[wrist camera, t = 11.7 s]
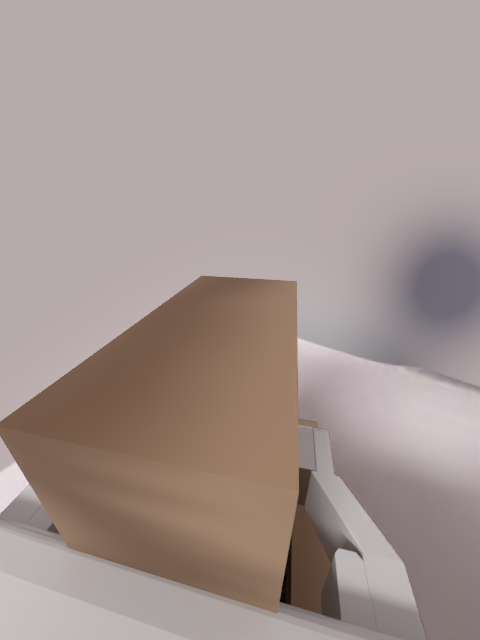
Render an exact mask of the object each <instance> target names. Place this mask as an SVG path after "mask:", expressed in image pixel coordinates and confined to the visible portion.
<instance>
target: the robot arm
mask: <svg viewBox="0 0 480 640" xmlns="http://www.w3.org/2000/svg"><path fill="white" fill-rule="evenodd" d="M298 452H299V495H298V501H297V504H299V505H303V506H305V507H304V508H305V510H306V512H307V514H308V516H309V518H310V520H311V522H312V525H313V527H314V529H315V531H316V533H317V535H318V537H319V539H320V541H321V544H322V546H323V548H324V550H325V552H326V554H327V556H328V558H329V561H330V563H331V566H330V569H329V572H328V574H327V577H326V580H325V583H324V586H323V589H322V592H321V609H322V614H318V613H315V612H312V611H309V610H305V609H302V608H299V607H295V606H292V605H289V604H286V603H282V602H279V607H278V612H277V613H274V612H271V611H267V610H264V609H261V608H258V607H255V606H252V605H248V604H245V603H242V602H239V601H236V600H232V599H229V598H226V597H223V596H220V595H216V594H213V593H210V592H207V591H204V590H201V589H197V588H194V587H191V586H188V585H185V584H181V583H178V582H175V581H172V580H169V579H166V578H162V577H159V576H156V575H153V574H150V573H146V572H143V571H140V570H137V569H134V568H130V567H127V566H124V565H121V564H118V563H115V562H111V561H108V560H105V559H102V558H99V557H95V556H92V555H89V554H86V553H83V552H80V551H76V550H73V549H70V548H68V546H67V545H66V543H65V541H64V540H63V538H62V537H61V535H60V533H59V532H58V530H57V528H56V527H55V525H54V523H53V522H52V520H51V518H50V517H49V515H48V513H47V512H46V510H45V509H44V507H43V505H42V504H41V502H40V500H39V499H38V497H37V495H36V494H35V492H34V490H33V489H32V487H31V485H30V484H29V485H28V486H27V487H26V488H25V489H24V490H23V491H22V492H21V493H20V494H19V495H18V496H17V497H16V498H15V499H14V500H13V501H12V503H11V504H10V505H9V506H8V507H7V508H6V509H5V510H4V511H3V512H2V513H1V514H0V640H427V638H426V635H425V631H424V628H423V625H422V621H421V618H420V615H419V611H418V608H417V605H416V602H415V598H414V595H413V592H412V588H411V585H410V582H409V579H408V575H407V572H406V569H405V565H404V563H403V561H402V560H401V559H400V557H399V556H398V555H397V553H396V552H395V551H394V549H393V548H392V546H391V545H390V544H389V542H388V541H387V540H386V538H385V537H384V536H383V534H382V533H381V532H380V530H379V529H378V528H377V526H376V525H375V523H374V522H373V521H372V519H371V518H370V517H369V515H368V514H367V513H366V511H365V510H364V509H363V507H362V506H361V505H360V503H359V502H358V500H357V499H356V498H355V496H354V495H353V494H352V492H351V491H350V490H349V488H348V487H347V486H346V484H345V483H344V481H343V480H342V479H341V477H340V476H336V475H335V472H334V466H333V459H332V452H331V446H330V439H329V432H328V431H327V430H325V429H319V428H312V427H307V426H300V425H298Z"/></svg>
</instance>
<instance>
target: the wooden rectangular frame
mask: <svg viewBox="0 0 480 640" xmlns="http://www.w3.org/2000/svg"><path fill="white" fill-rule="evenodd" d="M298 425H300V426H307V427H312V428H317V422H315V421H309V420H303V419H298ZM304 507H305V506H303V505H299V504H297V506H296V512H295V517H294V523H293V529H292V534H291V540H290V545H289V551H288V557H287V563H286V599H285V603H286V604H289V605H292V606H295V607H299V608H302V609H305V610H309V611H312V612H315V613H318V614H322V609H321V592H322V589H323V586H324V583H325V580H326V577H327V574H328V572H329V569H330V566H331V563H330V561H329V558H328V556H327V554H326V552H325V550H324V548H323V546H322V544H321V541H320V539H319V537H318V535H317V533H316V531H315V529H314V527H313V525H312V522H311V520H310V518H309V516H308V514H307V512H306V510H305V508H304Z"/></svg>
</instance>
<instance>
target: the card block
mask: <svg viewBox="0 0 480 640" xmlns="http://www.w3.org/2000/svg"><path fill="white" fill-rule="evenodd" d="M0 436H1V438H2V439H3V441H4V443H5V444H6V446H7V448H8V449H9V451H10V453H11V454H12V456H13V458H14V459H15V461H16V462H17V464H18V466H19V467H20V469H21V471H22V472H23V474H24V476H25V477H26V479H27V481H28V482H29V484H30V485H31V487H32V489H33V490H34V492H35V494H36V495H37V497H38V499H39V500H40V502H41V504H42V505H43V507H44V509H45V510H46V512H47V513H48V515H49V517H50V518H51V520H52V522H53V523H54V525H55V527H56V528H57V530H58V532H59V533H60V535H61V537H62V538H63V540H64V541H65V543H66V545H67V546H68V548H70V549H73V550H76V551H80V552H83V553H86V554H89V555H92V556H95V557H99V558H102V559H105V560H108V561H111V562H115V563H118V564H121V565H124V566H127V567H130V568H134V569H137V570H140V571H143V572H146V573H150V574H153V575H156V576H159V577H162V578H166V579H169V580H172V581H175V582H178V583H181V584H185V585H188V586H191V587H194V588H197V589H201V590H204V591H207V592H210V593H213V594H216V595H220V596H223V597H226V598H229V599H232V600H236V601H239V602H242V603H245V604H248V605H252V606H255V607H258V608H261V609H264V610H267V611H271V612H274V613H277V612H278V607H279V601H280V596H281V590H282V584H283V579H284V573H285V568H286V562H287V557H288V551H289V545H290V540H291V534H292V529H293V523H294V517H295V512H296V506H297V501H298V495H299V452H298V367H297V283H296V281H281V280H264V279H263V280H262V279H247V278H230V277H229V278H228V277H213V276H201V277H199V278H198V279H197V280H195V281H194V282H193V283H191V284H190V285H188V286H187V287H186V288H184V289H183V290H181V291H180V292H179V293H177V294H176V295H174V296H173V297H172V298H170V299H169V300H168V301H166V302H165V303H163V304H162V305H161V306H159V307H158V308H157V309H155V310H154V311H152V312H151V313H150V314H148V315H147V316H146V317H144V318H143V319H141V320H140V321H139V322H137V323H136V324H135V325H134V326H132V327H130V328H129V329H128V330H126V331H125V332H123V333H122V334H121V335H119V336H118V337H117V338H115V339H114V340H112V341H111V342H110V343H108V344H107V345H106V346H104V347H103V348H102V349H100V350H99V351H97V352H96V353H94V354H93V355H92V356H90V357H89V358H88V359H86V360H85V361H83V362H82V363H81V364H80V365H78V366H77V367H75V368H74V369H72V370H71V371H70V372H68V373H67V374H66V375H64V376H63V377H61V378H60V379H59V380H57V381H56V382H54V383H53V384H52V385H51V386H49V387H48V388H46V389H45V390H43V391H42V392H41V393H39V394H38V395H37V396H35V397H34V398H32V399H31V400H30V401H28V402H27V403H25V404H24V405H23V406H21V407H20V408H19V409H17V410H16V411H15V412H13V413H12V414H10V415H9V416H8V417H6V418H5V419H4V420H2V421H1V422H0Z"/></svg>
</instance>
